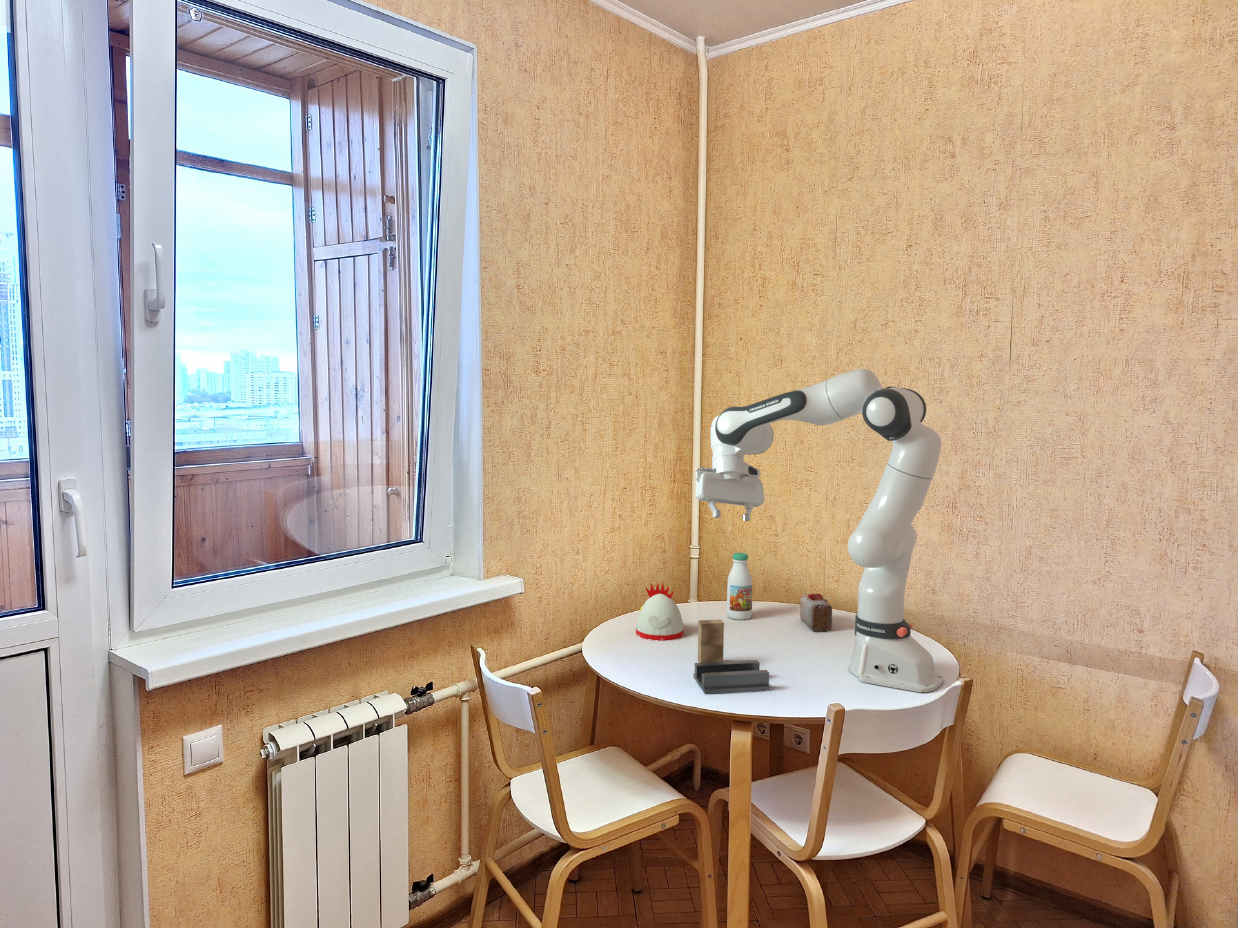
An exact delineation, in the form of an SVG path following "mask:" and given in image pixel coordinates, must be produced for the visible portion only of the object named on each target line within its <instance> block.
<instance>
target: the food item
mask: <svg viewBox="0 0 1238 928" xmlns="http://www.w3.org/2000/svg"><path fill="white" fill-rule="evenodd" d="M799 601H800V602H799V611H800V614H799V616H800V620H801V621H802V622H804V624H805V625H806V626H808V627H809V628H810V629H811V631H812V632H815V633H817V632H819V633H821V632H820V631H824V632H825V631H830V632H832V630H833V606H832V605H831V604H830V603H828V599H826V598H824V595H822V594H821V593H805V594H801V595H800V599H799Z"/></svg>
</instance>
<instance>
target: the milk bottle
mask: <svg viewBox="0 0 1238 928" xmlns="http://www.w3.org/2000/svg"><path fill="white" fill-rule="evenodd" d="M732 561H733V563H732V567H731V570H730V571H729V574H728V577H727V584H726V585H727V589H726V591H727V592H726V616H727V618H728V619H732V620H737V621H745V620H750V619H751V618H752V615H753V578H752V575H751V571H750V570H749V566H748V562H749V555H748V553H745V552H734V553H733V555H732Z"/></svg>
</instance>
